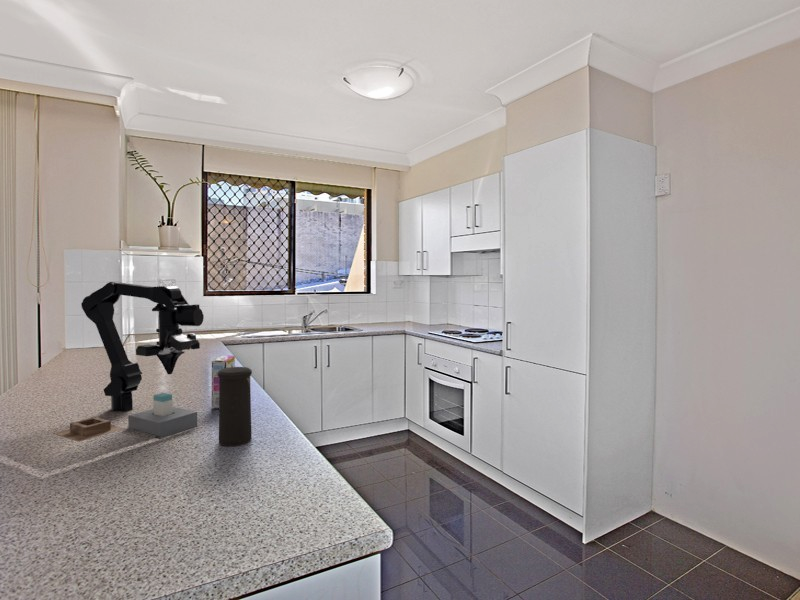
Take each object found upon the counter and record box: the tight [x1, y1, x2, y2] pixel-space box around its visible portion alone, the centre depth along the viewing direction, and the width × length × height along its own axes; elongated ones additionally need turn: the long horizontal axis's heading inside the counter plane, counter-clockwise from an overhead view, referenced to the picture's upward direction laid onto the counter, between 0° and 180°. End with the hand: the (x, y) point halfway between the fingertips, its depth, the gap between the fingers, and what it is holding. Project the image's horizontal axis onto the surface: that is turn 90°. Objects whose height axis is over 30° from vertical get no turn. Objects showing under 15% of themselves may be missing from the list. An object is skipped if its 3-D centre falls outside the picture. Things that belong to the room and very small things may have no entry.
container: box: [218, 366, 253, 447], centre depth 124 cm, size 9×9×20 cm
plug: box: [153, 392, 173, 417], centre depth 134 cm, size 4×3×10 cm
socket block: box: [127, 405, 198, 440], centre depth 134 cm, size 14×12×4 cm
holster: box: [55, 416, 126, 442], centre depth 129 cm, size 12×12×4 cm
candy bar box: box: [211, 355, 236, 410], centre depth 159 cm, size 11×5×16 cm, turn 5°
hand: (169, 374), depth 148 cm, fingers closed
